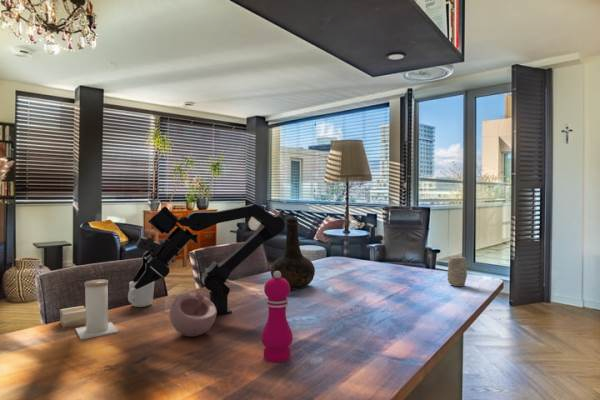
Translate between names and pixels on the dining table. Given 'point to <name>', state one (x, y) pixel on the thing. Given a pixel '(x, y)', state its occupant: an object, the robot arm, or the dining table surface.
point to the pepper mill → (277, 320)
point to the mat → (85, 335)
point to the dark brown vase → (294, 260)
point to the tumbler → (96, 305)
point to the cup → (141, 294)
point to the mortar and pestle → (192, 314)
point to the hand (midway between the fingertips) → (134, 284)
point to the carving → (457, 270)
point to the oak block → (73, 316)
